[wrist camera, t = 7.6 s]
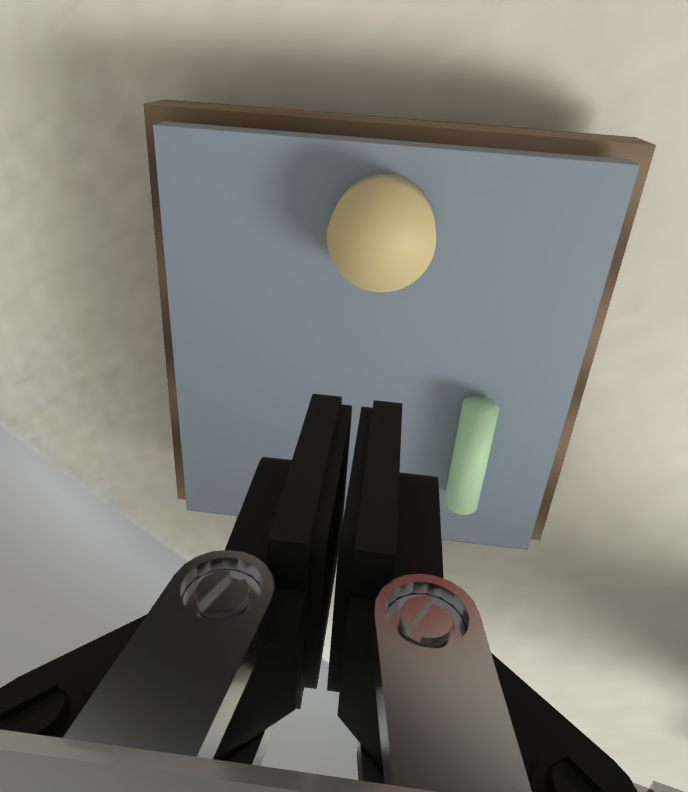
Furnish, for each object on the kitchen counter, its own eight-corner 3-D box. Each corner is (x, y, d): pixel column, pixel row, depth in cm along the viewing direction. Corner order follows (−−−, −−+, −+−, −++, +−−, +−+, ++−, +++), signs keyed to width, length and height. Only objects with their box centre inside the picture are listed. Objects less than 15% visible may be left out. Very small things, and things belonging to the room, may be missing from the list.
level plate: (524, 533, 33) (533, 579, 30) (194, 495, 34) (174, 536, 31) (630, 159, 23) (658, 176, 21) (163, 121, 24) (132, 132, 22)
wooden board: (528, 494, 37) (540, 540, 33) (198, 458, 38) (178, 498, 35) (625, 133, 27) (655, 145, 24) (176, 97, 28) (143, 103, 25)
